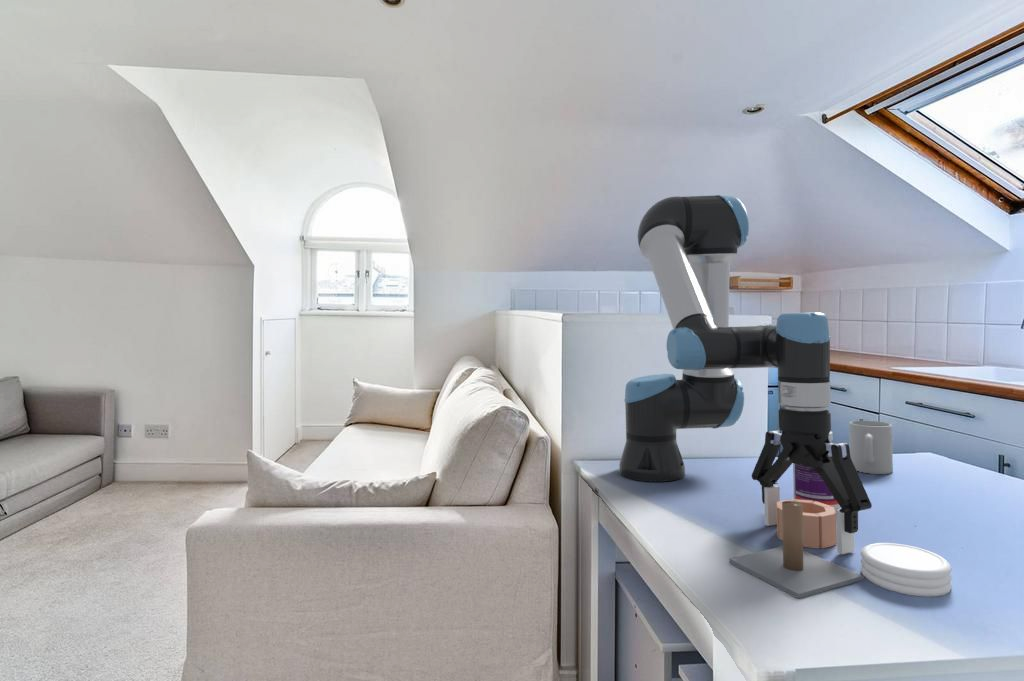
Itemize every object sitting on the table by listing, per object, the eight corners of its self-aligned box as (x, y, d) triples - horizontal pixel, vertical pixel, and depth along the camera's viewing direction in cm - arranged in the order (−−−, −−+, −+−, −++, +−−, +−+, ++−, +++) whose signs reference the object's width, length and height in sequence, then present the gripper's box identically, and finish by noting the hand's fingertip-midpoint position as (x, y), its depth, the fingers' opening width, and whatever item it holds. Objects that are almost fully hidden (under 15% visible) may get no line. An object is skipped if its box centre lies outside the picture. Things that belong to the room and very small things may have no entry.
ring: (765, 533, 93) (765, 503, 93) (802, 525, 96) (801, 496, 96) (809, 551, 85) (809, 519, 85) (847, 542, 88) (847, 511, 88)
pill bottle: (849, 514, 101) (847, 435, 100) (801, 513, 102) (799, 435, 102) (832, 500, 109) (831, 427, 108) (788, 499, 110) (787, 427, 110)
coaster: (971, 593, 71) (971, 566, 71) (907, 603, 69) (907, 575, 69) (901, 561, 81) (901, 538, 81) (844, 570, 79) (843, 545, 79)
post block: (729, 562, 82) (728, 498, 82) (789, 548, 86) (788, 487, 86) (798, 598, 71) (797, 524, 71) (863, 580, 75) (862, 510, 75)
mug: (851, 463, 136) (850, 419, 136) (893, 468, 131) (892, 422, 131) (846, 475, 126) (846, 427, 126) (892, 480, 121) (891, 430, 121)
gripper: (729, 401, 100) (731, 517, 100) (862, 419, 77) (864, 571, 77) (760, 398, 103) (763, 511, 103) (897, 415, 80) (900, 561, 80)
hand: (806, 537), depth 90 cm, fingers open, 13 cm apart
